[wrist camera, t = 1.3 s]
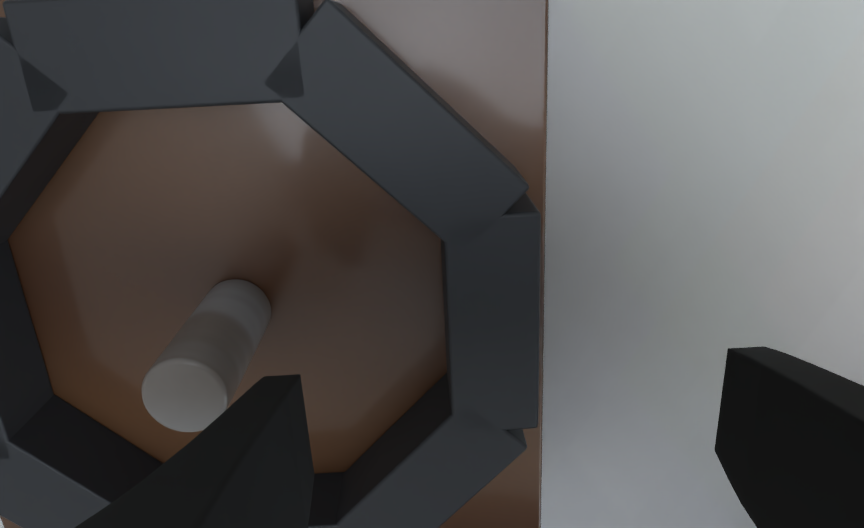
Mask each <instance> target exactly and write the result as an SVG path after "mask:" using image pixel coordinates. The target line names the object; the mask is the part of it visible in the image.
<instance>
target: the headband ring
mask: <svg viewBox="0 0 864 528" xmlns="http://www.w3.org/2000/svg"><path fill="white" fill-rule="evenodd" d="M3 9H4V12H5V16H6V17H0V515H1V516H2V517H4V518H6V519H8V520H9V521H11V522H13V523H15V524H16V525H18V526H20V527H22V528H74V527H76V526H78V525H79V524H81V523H82V522H84V521H85V520H87V519H88V518H90V517H91V516H93V515H94V514H96V513H97V512H99V511H100V510H102V509H103V508H105V507H106V506H108V505H109V504H111V503H112V502H113V501H115V500H116V499H118V498H119V497H120V496H122V495H123V494H125V493H126V492H127V491H129V490H130V489H131V488H133V487H134V486H136V485H137V484H138V483H140V482H141V481H142V480H143V479H145V478H146V477H147V476H148V475H150V474H151V473H152V472H153V471H155V470H156V469H157V468H158V467H160V466H161V465H162V464H163V463H161V462H160V461H158V460H157V459H155V458H153V457H152V456H150V455H149V454H147V453H146V452H144V451H142V450H141V449H139V448H138V447H136V446H135V445H133V444H131V443H130V442H128V441H127V440H125V439H124V438H122V437H120V436H119V435H117V434H116V433H114V432H113V431H111V430H109V429H108V428H106V427H105V426H103V425H102V424H100V423H98V422H97V421H95V420H94V419H92V418H91V417H89V416H87V415H86V414H84V413H83V412H81V411H80V410H78V409H76V408H75V407H73V406H72V405H70V404H69V403H67V402H65V401H64V400H62V399H61V398H59V397H58V396H56V395H54V393H53V390H52V387H51V383H50V380H49V377H48V373H47V370H46V367H45V363H44V360H43V357H42V353H41V350H40V347H39V343H38V340H37V337H36V333H35V330H34V327H33V323H32V320H31V317H30V313H29V310H28V307H27V303H26V300H25V297H24V293H23V290H22V287H21V283H20V280H19V277H18V273H17V270H16V267H15V263H14V260H13V257H12V253H11V250H10V246H9V243H8V238H9V237H10V235H11V234H12V233H13V231H14V230H15V229H16V227H17V226H18V224H19V223H20V222H21V220H22V219H23V217H24V216H25V215H26V213H27V212H28V210H29V209H30V208H31V206H32V205H33V203H34V202H35V201H36V199H37V198H38V197H39V195H40V194H41V192H42V191H43V190H44V188H45V187H46V185H47V184H48V183H49V181H50V180H51V178H52V177H53V176H54V174H55V173H56V171H57V170H58V169H59V167H60V166H61V165H62V163H63V162H64V160H65V159H66V158H67V156H68V155H69V153H70V152H71V151H72V149H73V148H74V146H75V145H76V144H77V142H78V141H79V139H80V138H81V137H82V135H83V134H84V133H85V131H86V130H87V128H88V127H89V126H90V124H91V123H92V121H93V120H94V119H95V117H96V116H97V114H98V113H99V112H112V111H131V110H149V109H168V108H187V107H205V106H224V105H243V104H262V103H280V102H282V103H283V104H284V105H285V106H286V107H288V108H289V109H290V110H291V111H292V112H293V113H295V114H296V115H297V116H298V117H299V118H300V119H302V120H303V121H304V122H305V123H306V124H307V125H309V126H310V127H311V128H312V129H313V130H314V131H316V132H317V133H318V134H319V135H320V136H321V137H323V138H324V139H325V140H326V141H327V142H328V143H330V144H331V145H332V146H333V147H334V148H335V149H337V150H338V151H339V152H340V153H341V154H342V155H344V156H345V157H346V158H347V159H348V160H349V161H351V162H352V163H353V164H354V165H355V166H356V167H358V168H359V169H360V170H361V171H362V172H363V173H365V174H366V175H367V176H368V177H369V178H370V179H372V180H373V181H374V182H375V183H376V184H377V185H379V186H380V187H381V188H382V189H383V190H384V191H386V192H387V193H388V194H389V195H390V196H391V197H393V198H394V199H395V200H396V201H397V202H398V203H400V204H401V205H402V206H403V207H404V208H405V209H407V210H408V211H409V212H410V213H411V214H412V215H414V216H415V217H416V218H417V219H418V220H419V221H421V222H422V223H423V224H424V225H425V226H426V227H428V228H429V229H430V230H431V231H432V232H433V233H435V234H436V235H437V236H438V237H439V238H440V239H441V254H442V275H443V297H444V319H445V340H446V362H447V373H446V374H445V375H444V376H443V377H442V378H441V379H440V380H439V381H438V382H437V383H436V384H435V385H434V386H433V387H432V388H430V389H429V390H428V391H427V392H426V393H425V394H424V395H423V396H422V397H421V398H420V399H419V400H418V401H417V402H416V403H415V404H414V405H413V406H412V407H411V408H410V409H409V410H408V411H407V412H406V413H405V414H404V415H403V416H402V417H401V418H400V419H399V420H398V421H397V422H396V423H395V424H394V425H393V426H392V427H391V428H389V429H388V430H387V431H386V432H385V433H384V434H383V435H382V436H381V437H380V438H379V439H378V440H377V441H376V442H375V443H374V444H373V445H372V446H371V447H370V448H369V449H368V450H367V451H366V452H365V453H364V454H363V455H362V456H361V457H360V458H359V459H358V460H357V461H356V462H355V463H354V464H353V465H352V466H351V467H350V468H348V469H347V470H346V471H345V472H335V473H319V474H314V483H313V491H312V500H311V508H310V516H309V523H308V528H439V527H440V526H441V525H442V524H443V523H444V522H446V521H447V520H448V519H449V518H450V517H451V516H452V515H453V514H455V513H456V512H457V511H458V510H459V509H460V508H461V507H462V506H464V505H465V504H466V503H467V502H468V501H469V500H470V499H471V498H472V497H474V496H475V495H476V494H477V493H478V492H479V491H480V490H481V489H483V488H484V487H485V486H486V485H487V484H488V483H489V482H490V481H492V480H493V479H494V478H495V477H496V476H497V475H498V474H499V473H500V472H502V471H503V470H504V469H505V468H506V467H507V466H508V465H509V464H511V463H512V462H513V461H514V460H515V459H516V458H517V457H518V456H520V455H521V454H522V453H523V452H524V451H525V450H526V449H527V443H526V440H525V436H524V432H523V429H530V428H537V426H538V407H539V324H540V241H541V214H540V212H539V211H538V209H537V208H536V206H535V205H534V203H533V202H532V201H531V199H530V198H529V196H528V195H527V193H526V191H527V190H528V189H529V185H528V183H527V182H526V181H525V179H524V178H523V177H522V175H521V174H520V173H519V171H518V170H517V169H516V167H515V166H514V165H513V164H512V163H511V162H510V161H509V160H508V159H506V158H505V157H504V156H503V155H502V154H501V153H500V152H499V151H498V150H497V149H496V148H495V147H494V146H493V145H492V144H490V143H489V142H488V141H487V140H486V139H485V138H484V137H483V136H482V135H481V134H480V133H479V132H478V131H477V130H475V129H474V128H473V127H472V126H471V125H470V124H469V123H468V122H467V121H466V120H465V119H464V118H463V117H462V116H461V115H459V114H458V113H457V112H456V111H455V110H454V109H453V108H452V107H451V106H450V105H449V104H448V103H447V102H446V101H444V100H443V99H442V98H441V97H440V96H439V95H438V94H437V93H436V92H435V91H434V90H433V89H432V88H431V87H430V86H428V85H427V84H426V83H425V82H424V81H423V80H422V79H421V78H420V77H419V76H418V75H417V74H416V73H415V72H413V71H412V70H411V69H410V68H409V67H408V66H407V65H406V64H405V63H404V62H403V61H402V60H401V59H400V58H399V57H397V56H396V55H395V54H394V53H393V52H392V51H391V50H390V49H389V48H388V47H387V46H386V45H385V44H384V43H382V42H381V41H380V40H379V39H378V38H377V37H376V36H375V35H374V34H373V33H372V32H371V31H370V30H369V29H368V28H366V27H365V26H364V25H363V24H362V23H361V22H360V21H359V20H358V19H357V18H356V17H355V16H354V15H353V14H351V13H350V12H349V11H348V10H347V9H346V8H345V7H344V6H343V5H342V4H341V3H338V2H335V1H333V0H324V1H323V2H322V4H321V5H320V6H319V7H318V9H317V10H316V11H315V12H314V5H313V0H6V1H4V2H3Z"/></svg>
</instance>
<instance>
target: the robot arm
mask: <svg viewBox="0 0 864 528" xmlns="http://www.w3.org/2000/svg"><path fill="white" fill-rule="evenodd" d="M715 452H716V454H717V456H718V458H719V460H720V462H721V464H722V467H723V469H724V471H725V473H726V475H727V477H728V479H729V481H730V483H731V485H732V487H733V489H734V491H735V493H736V494H737V496H738V498H739V500H740V502H741V504H742V505H743V507H744V508H745V510H746V511H747V513H748V515H749V516H750V518H751V519H752V520H753V522H754V523H755V525H756V526H757V528H864V386H862V385H860V384H858V383H855V382H853V381H851V380H848V379H846V378H844V377H841V376H839V375H837V374H834V373H832V372H830V371H827V370H825V369H823V368H820V367H818V366H816V365H813V364H811V363H808V362H806V361H803V360H801V359H798V358H796V357H793V356H791V355H788V354H786V353H783V352H780V351H777V350H774V349H771V348H767V347H748V348H731V349H728V352H727V360H726V367H725V375H724V383H723V390H722V398H721V406H720V413H719V421H718V429H717V436H716V444H715ZM313 483H314V468H313V461H312V454H311V447H310V440H309V433H308V426H307V418H306V411H305V404H304V397H303V390H302V383H301V375H300V374H296V375H279V376H264V377H263V378H261V379H260V380H259V381H258V382H256V383H255V384H254V385H253V386H252V387H251V388H250V389H248V390H247V391H246V392H245V393H244V394H243V395H242V396H241V397H240V398H239V399H238V400H236V401H235V402H234V403H233V404H232V405H231V406H230V407H229V408H228V409H227V410H226V411H224V412H223V413H222V414H221V415H220V416H219V417H218V418H217V419H215V420H214V421H213V422H212V423H211V424H210V425H209V426H208V427H206V428H205V429H204V430H203V431H202V432H201V433H200V434H199V435H197V436H196V437H195V438H194V439H193V440H192V441H191V442H189V443H188V444H187V445H186V446H184V447H183V448H182V449H181V450H179V451H178V452H177V453H176V454H175V455H173V456H172V457H171V458H170V459H168V460H167V461H166V462H165V463H163V464H162V465H161V466H160V467H158V468H157V469H156V470H155V471H153V472H152V473H151V474H150V475H148V476H147V477H146V478H145V479H143V480H142V481H141V482H140V483H138V484H137V485H136V486H134V487H133V488H131V489H130V490H129V491H127V492H126V493H125V494H123V495H122V496H120V497H119V498H118V499H116V500H115V501H113V502H112V503H111V504H109V505H108V506H106V507H105V508H103V509H102V510H100V511H99V512H97V513H96V514H94V515H93V516H91V517H90V518H88V519H87V520H85V521H84V522H82V523H81V524H79V525H78V526H76V527H74V528H308V523H309V516H310V508H311V500H312V491H313Z"/></svg>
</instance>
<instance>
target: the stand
mask: <svg viewBox="0 0 864 528" xmlns="http://www.w3.org/2000/svg"><path fill="white" fill-rule="evenodd" d="M4 1H6V0H0V17H6V16H5V12H4V9H3V2H4ZM323 1H324V0H313V5H314V12H315V11H316V10H317V9H318V7H319V6H320V5H321V4H322V2H323ZM333 1H335V2H338V3H341V4H342V5H343V6H344V7H345V8H346V9H347V10H348V11H349V12H350V13H351V14H353V15H354V16H355V17H356V18H357V19H358V20H359V21H360V22H361V23H362V24H363V25H364V26H365V27H366V28H368V29H369V30H370V31H371V32H372V33H373V34H374V35H375V36H376V37H377V38H378V39H379V40H380V41H381V42H382V43H384V44H385V45H386V46H387V47H388V48H389V49H390V50H391V51H392V52H393V53H394V54H395V55H396V56H397V57H399V58H400V59H401V60H402V61H403V62H404V63H405V64H406V65H407V66H408V67H409V68H410V69H411V70H412V71H413V72H415V73H416V74H417V75H418V76H419V77H420V78H421V79H422V80H423V81H424V82H425V83H426V84H427V85H428V86H430V87H431V88H432V89H433V90H434V91H435V92H436V93H437V94H438V95H439V96H440V97H441V98H442V99H443V100H444V101H446V102H447V103H448V104H449V105H450V106H451V107H452V108H453V109H454V110H455V111H456V112H457V113H458V114H459V115H461V116H462V117H463V118H464V119H465V120H466V121H467V122H468V123H469V124H470V125H471V126H472V127H473V128H474V129H475V130H477V131H478V132H479V133H480V134H481V135H482V136H483V137H484V138H485V139H486V140H487V141H488V142H489V143H490V144H492V145H493V146H494V147H495V148H496V149H497V150H498V151H499V152H500V153H501V154H502V155H503V156H504V157H505V158H506V159H508V160H509V161H510V162H511V163H512V164H513V165H514V166H515V167H516V169H517V170H518V171H519V173H520V174H521V175H522V177H523V178H524V179H525V181H526V182H527V183H528V185H529V189H528V190H527V191H526V193H527V195H528V196H529V198H530V199H531V201H532V202H533V203H534V205H535V206H536V208H537V209H538V211H539V212H540V214H541V241H540V324H539V407H538V426H537V428H530V429H523V432H524V436H525V440H526V443H527V449H526V450H525V451H524V452H523V453H522V454H521V455H520V456H518V457H517V458H516V459H515V460H514V461H513V462H512V463H511V464H509V465H508V466H507V467H506V468H505V469H504V470H503V471H502V472H500V473H499V474H498V475H497V476H496V477H495V478H494V479H493V480H492V481H490V482H489V483H488V484H487V485H486V486H485V487H484V488H483V489H481V490H480V491H479V492H478V493H477V494H476V495H475V496H474V497H472V498H471V499H470V500H469V501H468V502H467V503H466V504H465V505H464V506H462V507H461V508H460V509H459V510H458V511H457V512H456V513H455V514H453V515H452V516H451V517H450V518H449V519H448V520H447V521H446V522H444V523H443V524H442V525H441V526H440V527H439V528H541V477H542V409H543V341H544V273H545V204H546V136H547V68H548V0H333ZM8 243H9V246H10V250H11V253H12V257H13V260H14V263H15V267H16V270H17V273H18V277H19V280H20V283H21V287H22V290H23V293H24V297H25V300H26V303H27V307H28V310H29V313H30V317H31V320H32V323H33V327H34V330H35V333H36V337H37V340H38V343H39V347H40V350H41V353H42V357H43V360H44V363H45V367H46V370H47V373H48V377H49V380H50V383H51V387H52V390H53V393H54V395H56V396H58V397H59V398H61V399H62V400H64V401H65V402H67V403H69V404H70V405H72V406H73V407H75V408H76V409H78V410H80V411H81V412H83V413H84V414H86V415H87V416H89V417H91V418H92V419H94V420H95V421H97V422H98V423H100V424H102V425H103V426H105V427H106V428H108V429H109V430H111V431H113V432H114V433H116V434H117V435H119V436H120V437H122V438H124V439H125V440H127V441H128V442H130V443H131V444H133V445H135V446H136V447H138V448H139V449H141V450H142V451H144V452H146V453H147V454H149V455H150V456H152V457H153V458H155V459H157V460H158V461H160V462H161V463H165V462H166V461H167V460H168V459H170V458H171V457H172V456H173V455H175V454H176V453H177V452H178V451H179V450H181V449H182V448H183V447H184V446H186V445H187V444H188V443H189V442H191V441H192V440H193V439H194V438H195V437H196V436H197V435H199V434H200V433H201V432H202V431H203V430H204V429H205V428H206V427H208V426H209V425H210V424H211V423H212V422H213V421H214V420H215V419H217V418H218V417H219V416H220V415H221V414H222V413H223V412H224V411H226V410H227V409H228V408H229V407H230V406H231V405H232V404H233V403H234V402H235V401H236V400H238V399H239V398H240V397H241V396H242V395H243V394H244V393H245V392H246V391H247V390H248V389H250V388H251V387H252V386H253V385H254V384H255V383H256V382H258V381H259V380H260V379H261V378H263V377H264V376H279V375H296V374H300V375H301V383H302V390H303V397H304V404H305V411H306V418H307V426H308V433H309V440H310V447H311V454H312V461H313V468H314V474H319V473H335V472H345V471H346V470H347V469H348V468H350V467H351V466H352V465H353V464H354V463H355V462H356V461H357V460H358V459H359V458H360V457H361V456H362V455H363V454H364V453H365V452H366V451H367V450H368V449H369V448H370V447H371V446H372V445H373V444H374V443H375V442H376V441H377V440H378V439H379V438H380V437H381V436H382V435H383V434H384V433H385V432H386V431H387V430H388V429H389V428H391V427H392V426H393V425H394V424H395V423H396V422H397V421H398V420H399V419H400V418H401V417H402V416H403V415H404V414H405V413H406V412H407V411H408V410H409V409H410V408H411V407H412V406H413V405H414V404H415V403H416V402H417V401H418V400H419V399H420V398H421V397H422V396H423V395H424V394H425V393H426V392H427V391H428V390H429V389H430V388H432V387H433V386H434V385H435V384H436V383H437V382H438V381H439V380H440V379H441V378H442V377H443V376H444V375H445V374H446V373H447V362H446V340H445V319H444V297H443V275H442V254H441V239H440V238H439V237H438V236H437V235H436V234H435V233H433V232H432V231H431V230H430V229H429V228H428V227H426V226H425V225H424V224H423V223H422V222H421V221H419V220H418V219H417V218H416V217H415V216H414V215H412V214H411V213H410V212H409V211H408V210H407V209H405V208H404V207H403V206H402V205H401V204H400V203H398V202H397V201H396V200H395V199H394V198H393V197H391V196H390V195H389V194H388V193H387V192H386V191H384V190H383V189H382V188H381V187H380V186H379V185H377V184H376V183H375V182H374V181H373V180H372V179H370V178H369V177H368V176H367V175H366V174H365V173H363V172H362V171H361V170H360V169H359V168H358V167H356V166H355V165H354V164H353V163H352V162H351V161H349V160H348V159H347V158H346V157H345V156H344V155H342V154H341V153H340V152H339V151H338V150H337V149H335V148H334V147H333V146H332V145H331V144H330V143H328V142H327V141H326V140H325V139H324V138H323V137H321V136H320V135H319V134H318V133H317V132H316V131H314V130H313V129H312V128H311V127H310V126H309V125H307V124H306V123H305V122H304V121H303V120H302V119H300V118H299V117H298V116H297V115H296V114H295V113H293V112H292V111H291V110H290V109H289V108H288V107H286V106H285V105H284V104H283V103H282V102H280V103H262V104H243V105H224V106H205V107H187V108H168V109H149V110H131V111H112V112H99V113H98V114H97V116H96V117H95V119H94V120H93V121H92V123H91V124H90V126H89V127H88V128H87V130H86V131H85V133H84V134H83V135H82V137H81V138H80V139H79V141H78V142H77V144H76V145H75V146H74V148H73V149H72V151H71V152H70V153H69V155H68V156H67V158H66V159H65V160H64V162H63V163H62V165H61V166H60V167H59V169H58V170H57V171H56V173H55V174H54V176H53V177H52V178H51V180H50V181H49V183H48V184H47V185H46V187H45V188H44V190H43V191H42V192H41V194H40V195H39V197H38V198H37V199H36V201H35V202H34V203H33V205H32V206H31V208H30V209H29V210H28V212H27V213H26V215H25V216H24V217H23V219H22V220H21V222H20V223H19V224H18V226H17V227H16V229H15V230H14V231H13V233H12V234H11V235H10V237H9V238H8ZM0 517H1V520H2V522H3V525H4V528H22V527H20V526H18V525H16V524H15V523H13V522H11V521H9V520H8V519H6V518H4V517H2V516H1V515H0Z"/></svg>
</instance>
